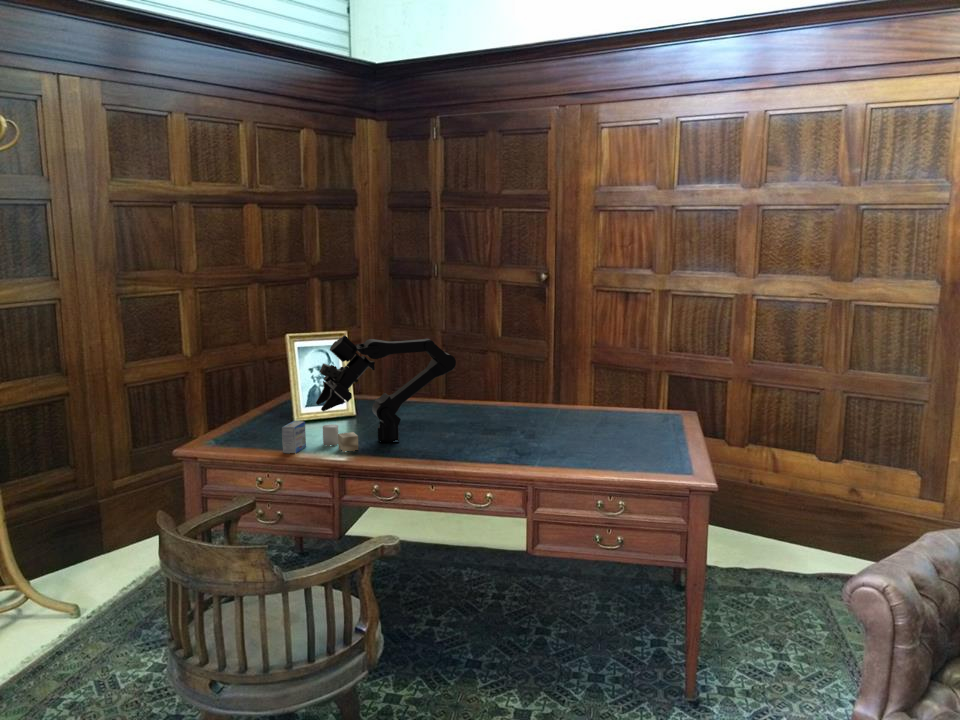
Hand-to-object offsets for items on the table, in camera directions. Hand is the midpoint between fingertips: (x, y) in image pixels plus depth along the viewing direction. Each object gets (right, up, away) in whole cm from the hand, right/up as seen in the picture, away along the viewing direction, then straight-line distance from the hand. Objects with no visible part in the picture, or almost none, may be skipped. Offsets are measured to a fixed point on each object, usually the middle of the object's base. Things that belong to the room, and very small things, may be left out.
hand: (319, 407), depth 254 cm
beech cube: (+9, -14, 0) cm, 17 cm away
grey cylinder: (+3, -12, +6) cm, 14 cm away
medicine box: (-8, -14, -1) cm, 16 cm away
